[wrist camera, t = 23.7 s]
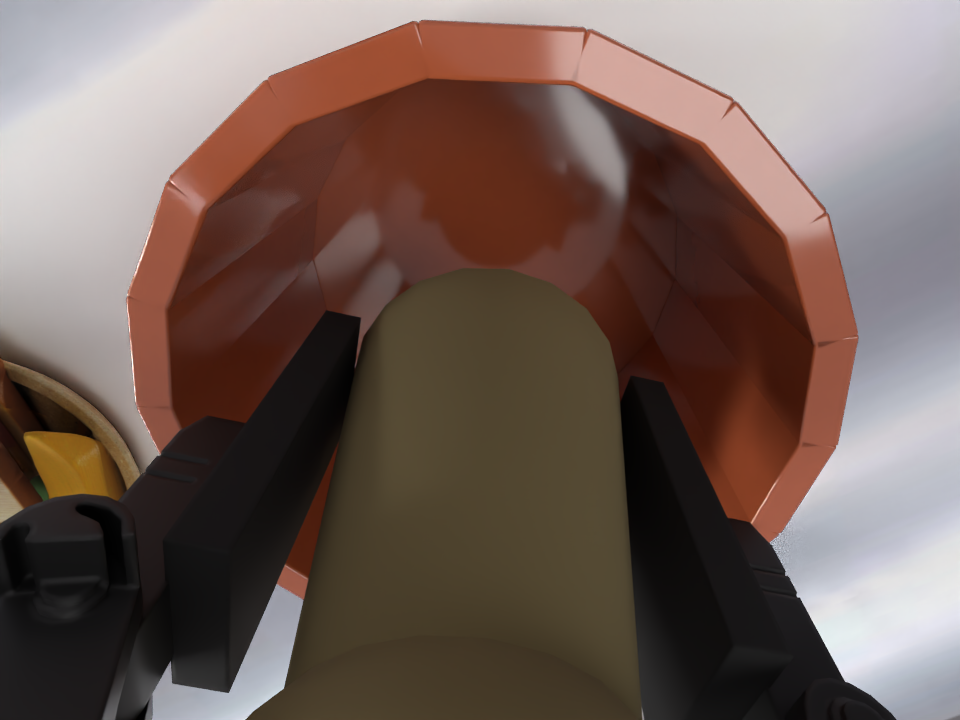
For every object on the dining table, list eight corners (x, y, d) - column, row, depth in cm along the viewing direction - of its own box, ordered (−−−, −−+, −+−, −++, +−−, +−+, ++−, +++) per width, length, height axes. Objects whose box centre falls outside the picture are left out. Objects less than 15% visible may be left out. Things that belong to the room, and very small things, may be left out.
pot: (221, 128, 19) (-40, 194, 10) (661, -36, 17) (852, -147, 7) (384, 458, 26) (315, 685, 16) (720, 378, 23) (863, 595, 14)
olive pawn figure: (611, 247, 11) (1199, 1359, 2) (623, 482, 14) (870, 1412, 4) (322, 287, 12) (-448, 1232, 2) (387, 504, 15) (157, 1348, 5)
